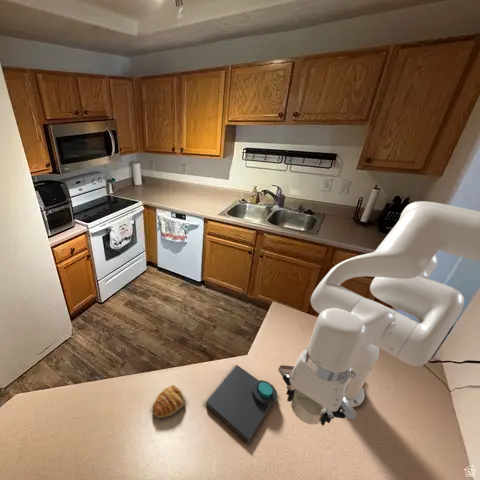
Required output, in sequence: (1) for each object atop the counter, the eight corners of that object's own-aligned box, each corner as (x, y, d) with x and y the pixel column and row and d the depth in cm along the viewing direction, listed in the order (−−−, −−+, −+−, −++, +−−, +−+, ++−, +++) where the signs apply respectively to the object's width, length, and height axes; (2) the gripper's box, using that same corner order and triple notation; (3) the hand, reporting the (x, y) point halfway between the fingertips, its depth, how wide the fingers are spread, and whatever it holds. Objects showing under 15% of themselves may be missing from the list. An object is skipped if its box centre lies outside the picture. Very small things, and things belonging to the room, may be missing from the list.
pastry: (162, 427, 69) (161, 419, 67) (147, 407, 73) (146, 399, 72) (187, 403, 74) (187, 396, 72) (172, 386, 78) (171, 378, 77)
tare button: (261, 383, 75) (262, 379, 74) (273, 392, 73) (274, 388, 72) (255, 392, 73) (256, 388, 72) (267, 401, 71) (268, 397, 70)
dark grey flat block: (236, 368, 83) (237, 360, 81) (278, 398, 74) (281, 391, 73) (206, 405, 73) (206, 398, 72) (250, 445, 64) (252, 438, 63)
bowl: (297, 390, 67) (300, 379, 65) (326, 409, 63) (331, 399, 60) (286, 410, 63) (289, 400, 61) (316, 432, 59) (321, 422, 56)
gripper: (381, 376, 50) (353, 423, 59) (290, 328, 61) (277, 374, 70) (373, 405, 46) (343, 451, 55) (276, 348, 57) (265, 394, 66)
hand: (306, 407), depth 62 cm, fingers closed on bowl, 6 cm apart
